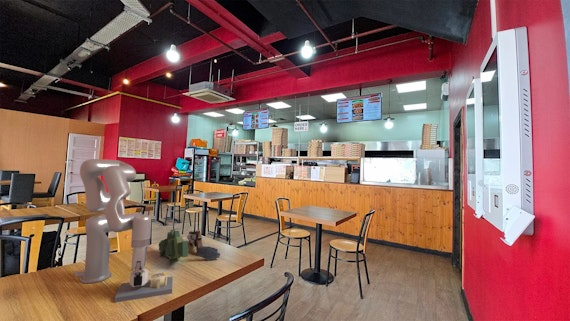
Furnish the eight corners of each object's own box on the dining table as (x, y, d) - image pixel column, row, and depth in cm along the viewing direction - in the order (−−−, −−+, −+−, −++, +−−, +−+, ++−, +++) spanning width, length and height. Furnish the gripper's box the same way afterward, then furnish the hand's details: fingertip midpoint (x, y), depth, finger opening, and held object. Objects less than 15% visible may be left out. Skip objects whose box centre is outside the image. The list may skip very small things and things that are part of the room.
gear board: (114, 302, 102) (115, 284, 102) (120, 287, 114) (121, 271, 114) (172, 293, 111) (172, 276, 111) (172, 280, 123) (173, 265, 123)
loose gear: (128, 287, 106) (128, 276, 106) (130, 280, 113) (131, 269, 113) (147, 285, 109) (148, 273, 110) (149, 278, 116) (149, 267, 116)
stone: (217, 257, 156) (217, 241, 156) (221, 260, 151) (221, 244, 152) (195, 261, 147) (196, 245, 147) (198, 265, 143) (199, 248, 143)
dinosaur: (197, 257, 137) (194, 223, 142) (176, 262, 129) (174, 226, 134) (177, 260, 161) (175, 231, 166) (158, 264, 153) (157, 233, 158)
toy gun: (193, 251, 179) (193, 230, 183) (204, 253, 157) (204, 229, 160) (187, 252, 177) (187, 231, 180) (197, 255, 154) (196, 230, 158)
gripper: (134, 237, 118) (132, 274, 117) (128, 249, 102) (125, 292, 102) (151, 236, 121) (150, 272, 120) (148, 247, 105) (146, 289, 105)
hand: (138, 281), depth 111 cm, fingers closed on loose gear, 7 cm apart
